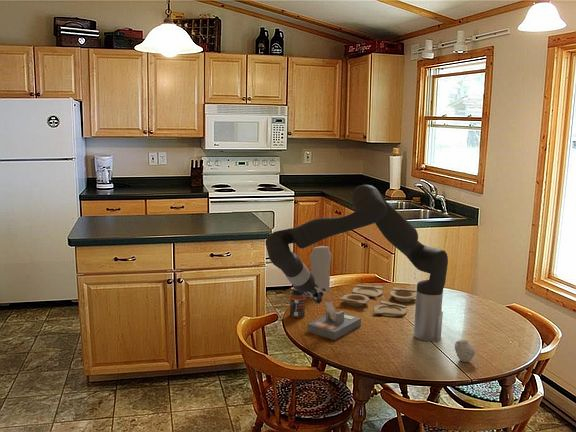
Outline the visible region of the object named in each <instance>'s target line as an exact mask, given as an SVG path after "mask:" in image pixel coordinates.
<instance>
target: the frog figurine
mask: <svg viewBox="0 0 576 432" xmlns="http://www.w3.org/2000/svg"><path fill="white" fill-rule="evenodd" d="M454 350H455V353H456V357H457V358H458V360H459V361H461V362H463V363H469V362H470V361H472V360H473V357H475V353H476V352H475V348H474V347H473V345H472V344H471V343H469V341H468V339H460V340H458V341H456V342H455V343H454Z"/></svg>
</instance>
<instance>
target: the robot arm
mask: <svg viewBox="0 0 576 432" xmlns="http://www.w3.org/2000/svg"><path fill="white" fill-rule="evenodd" d="M350 199H351V204H352V207H353V209H354V211H353V212H352V213H350V214H348V215H344V216H340V217H319V218H314V219H312V220H309V221H306V222H305V223H302V224H301V225H297V227H292V228H286V229H281V230H276V231H274V232H272V233H270V234H269V235H268V236H267V237H266V239H265V247H266V251H267V255H268V258H269V261H270V262H271V263H272V264H273V265H274V266H275V267H276V268H277V269H279V270H281V272H282V273H283V274H284V275H285V277H286V279H287V280H288V281H289V283H290V284H291V285H292V287H293V288H294V289H296V290H297V291H299V292H301V293H302V294H304V295H305V297H309V298H310V299H311V300H313V302H314V303H315V304H319V305H320V304H321V302H323V301H322V296H323V295H324V293H325V291H326V289H324V288H323V289H319V288H318V285H316V284H315V279H314V276H313V275H312V273H311V270H309V268H308V266H307V265H306V264H305V263H304V262H303V261H302V260H301V258H300V257H299V256H298V255H297V254H296V253H295V252H293V251H292V250H291V248H290V244H295V245H296V246H297V247H298V248H299V249H301V250H302V249H306V248H308V247H310V246H312V245H314V244H317V243H319V242H320V241H322V240H325V239H328V238H331V237H332V236H333V237H334V236H336V235H339V234H343V233H347V232H351V231H353V230H356V229H361V228H363V227H364V228H365V227H367V226H371V225H373V224H375V226H376V227H377V229H378V230H379V231H380V233H381V234H382V235H383V237H384V238H385V239H386V240H387V242H389V243H390V244H391V245H392V246H393V247H395V248H396V249H397V250H399V252H401V253H402V254H403V255H405V257H406V258H407V259H408V260H409V261H410V263H411V265H413V266H414V267H415V269H417V270H418V271H421V272H423V273H427V274H429V277H428V279H424V280H420V281H418V282H417V284H416V290H417V292H415V293H416V297H415V309H414V310H415V311H414V324H413V337H414V338H415V339H417V340H420V341H424V342H439V340H440V339H441V337H442V328H443V316H444V311H442V310H443V309H442V307H443V299H444V298H443V295H444V294H443V293H444V287H445V285H446V282H447V281H446V279H447V271H448V263H449V258H448V257H449V256H448V253H447V252H446V251H445V250H443V249H441V248H437V247H431V246H428V245H425V244H423V243H422V242H420V241H419V233H418V231H417V229H416V227H414V225H413V224H412V223H410V221H409V220H407V219H406V218H405V217H404V216H403V215H402V214H401V213H400V212H399V211H397V210H396V209H395V208H394V207H392V206H391V205H390V203H388V202H387V200H386V199H385V197H383V194H381V192H380V191H379V190H378V189H377V187H374V186H373V185H372V184H371V185H370V184H362V185H359V186H357V187H355V189H354V190H352V193H351V198H350Z"/></svg>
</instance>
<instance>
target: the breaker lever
mask: <svg viewBox="0 0 576 432" xmlns="http://www.w3.org/2000/svg"><path fill="white" fill-rule="evenodd" d="M333 299H334V297H333V295H332V293H330V292H329V293H326V292H325V293H324V295H323V296H322V301H321V302H324V303H325V306H326V308H327V310H329V313H330V319H331V320H334V321H336V312H337V311H336V308H335V307H334V305H333V303H332V300H333Z"/></svg>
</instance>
